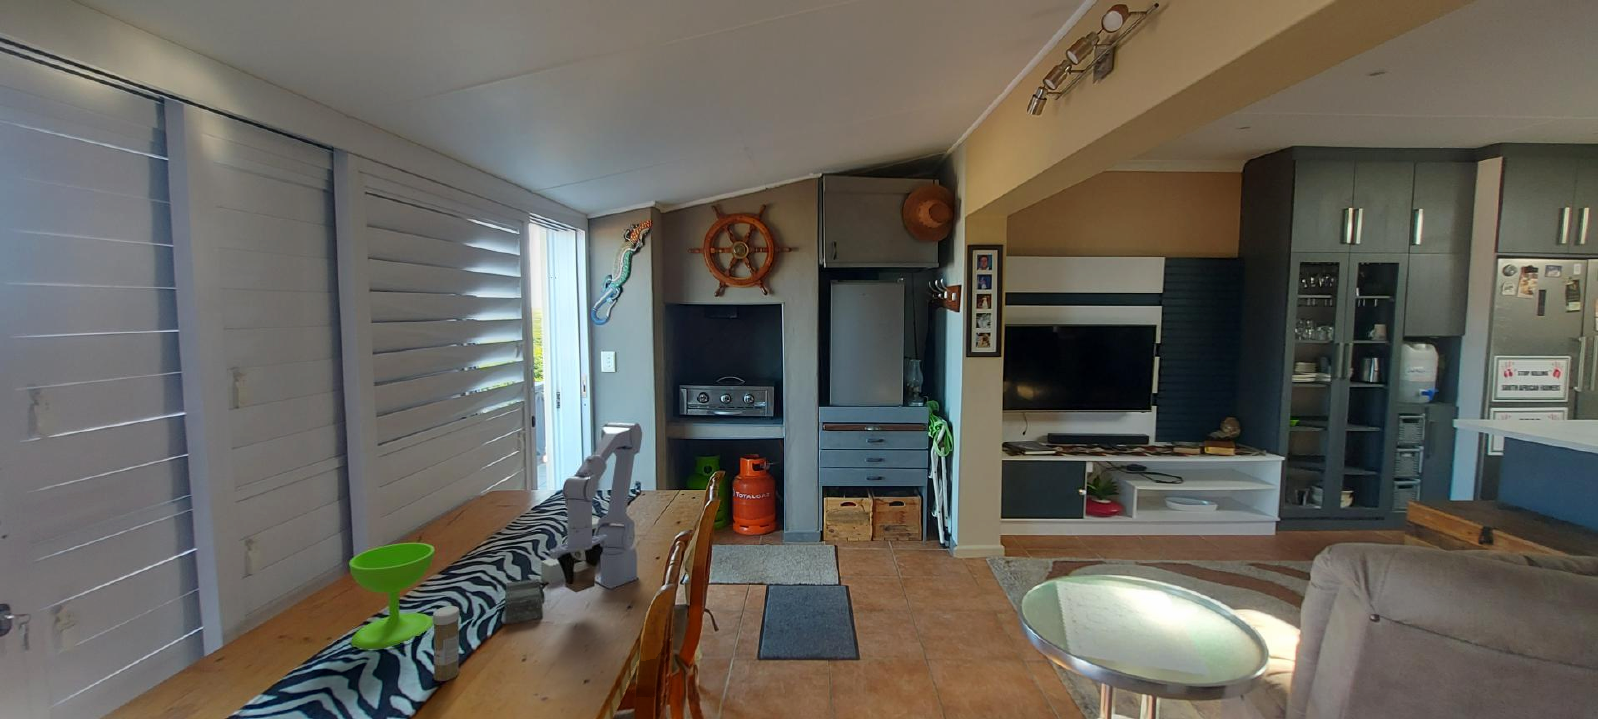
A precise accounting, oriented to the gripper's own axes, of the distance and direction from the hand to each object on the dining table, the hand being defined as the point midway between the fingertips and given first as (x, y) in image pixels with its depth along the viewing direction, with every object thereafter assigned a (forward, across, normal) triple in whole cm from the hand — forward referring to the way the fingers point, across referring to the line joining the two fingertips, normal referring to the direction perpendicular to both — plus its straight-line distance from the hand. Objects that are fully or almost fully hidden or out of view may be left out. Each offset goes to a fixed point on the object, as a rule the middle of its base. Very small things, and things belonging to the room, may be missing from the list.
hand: (579, 579), depth 147 cm
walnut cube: (+2, 0, 0) cm, 2 cm away
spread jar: (+9, +18, +30) cm, 36 cm away
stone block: (+9, -8, +12) cm, 17 cm away
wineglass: (+9, -33, +23) cm, 41 cm away
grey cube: (+8, +6, +24) cm, 26 cm away
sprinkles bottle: (+9, -32, -4) cm, 33 cm away
